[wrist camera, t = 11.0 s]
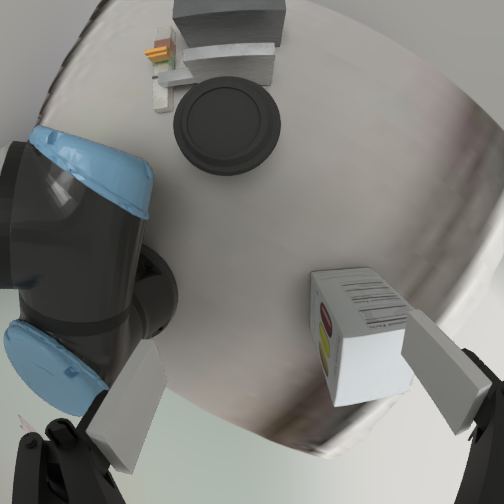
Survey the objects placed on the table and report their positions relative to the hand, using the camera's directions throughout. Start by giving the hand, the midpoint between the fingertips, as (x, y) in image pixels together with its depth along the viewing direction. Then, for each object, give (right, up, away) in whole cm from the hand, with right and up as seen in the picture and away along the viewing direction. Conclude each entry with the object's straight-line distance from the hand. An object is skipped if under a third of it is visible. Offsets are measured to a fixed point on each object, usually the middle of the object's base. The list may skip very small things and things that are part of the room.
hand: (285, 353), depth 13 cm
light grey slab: (-6, +27, +18) cm, 33 cm away
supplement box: (+11, -2, +26) cm, 29 cm away
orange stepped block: (-13, +29, +15) cm, 36 cm away
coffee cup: (-4, +19, +21) cm, 29 cm away
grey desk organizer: (-6, +30, +18) cm, 36 cm away
